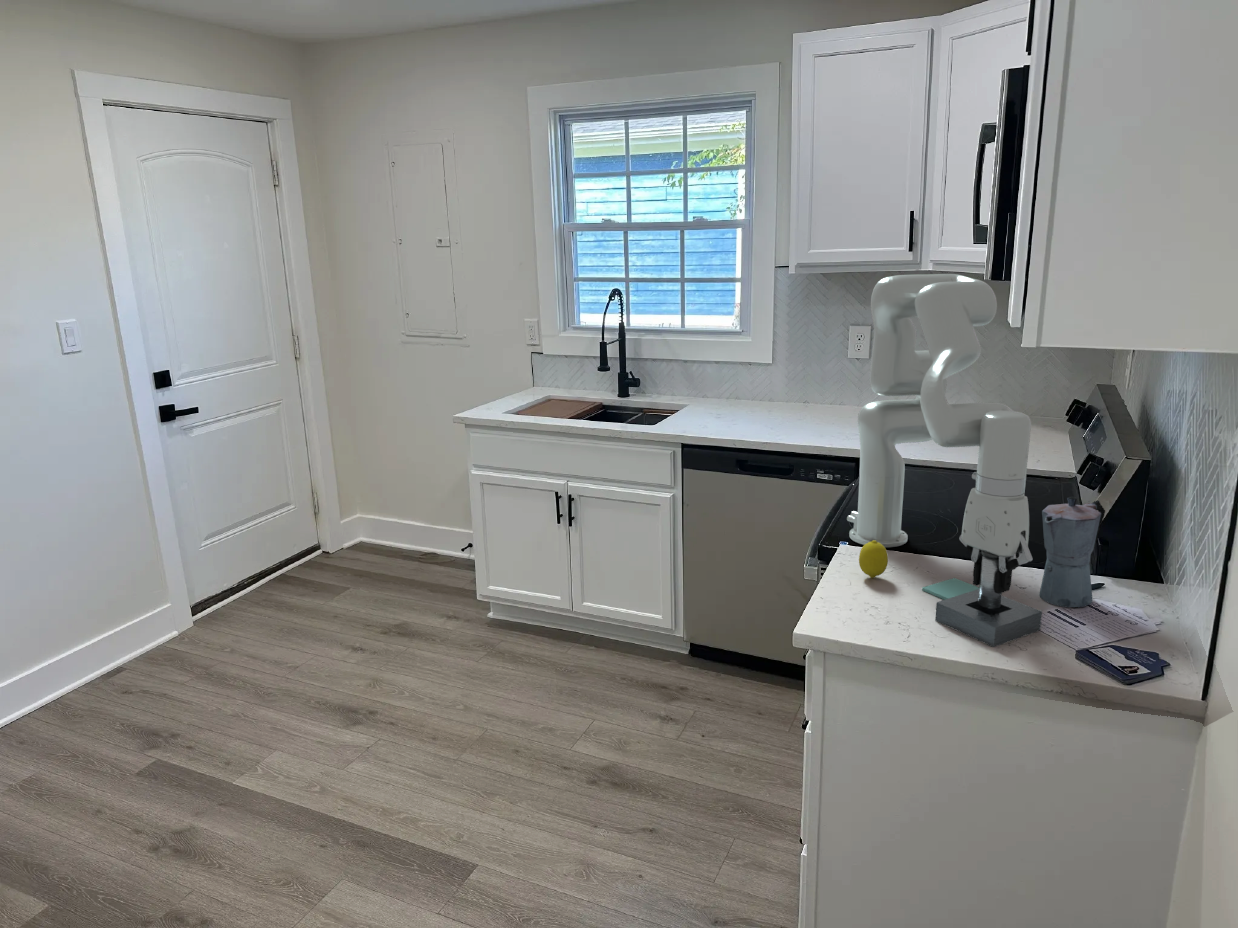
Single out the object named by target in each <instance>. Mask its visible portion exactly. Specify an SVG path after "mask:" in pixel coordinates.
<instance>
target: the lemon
mask: <svg viewBox="0 0 1238 928" xmlns="http://www.w3.org/2000/svg"><path fill="white" fill-rule="evenodd" d="M858 563H859V567H860V569H861V571H862V572H863V573H864V574H865V575H867V576H868V577H870V579H874V578H876V577H878V576H880V575H883V573H884V572H886V569H887V567H888V564H889V555H888V550H887V549H886V547H884V546H883V545H882V544H881V543H879V542H877V541H876V540H873V541H872V542H868V543H866V544H865V545H862V547H861V550H860V552H859V555H858Z"/></svg>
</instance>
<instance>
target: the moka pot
mask: <svg viewBox="0 0 1238 928" xmlns="http://www.w3.org/2000/svg"><path fill="white" fill-rule="evenodd" d="M1066 499H1067V503H1061V504H1058V503H1057V504H1048V505H1047V506H1046V507H1045V508H1044V509H1043V510H1041V515H1042V529H1043V539H1044V540H1043V543H1044V549H1045V550H1046V561H1045V564H1044V570H1043V576H1042V580H1041V585H1040V589H1039V597H1040V598H1041V599H1042V601H1044V602H1046V603H1048V604H1051V605H1054V606H1057V607H1062V608H1069V607H1078V608H1084V607H1086V606H1088V605H1091V604H1092V603H1093V592H1092V578H1091V567H1090V566H1091V565H1090V562H1091V554H1092V553H1093V552H1094V549H1095V548H1096V544H1097V540H1098V538H1099V537H1098V536H1099V533H1100V530H1101V527H1102V523H1103V520H1104V517H1105V513H1106V510H1105V508H1104V507H1103V505H1102V504H1101V502H1100V500H1095V501H1093V502H1092V503H1091V502H1089V503H1088V502H1087V503H1084V504H1083V505H1082V504H1077V500H1078V498H1077V497H1076V496H1069V497H1066Z"/></svg>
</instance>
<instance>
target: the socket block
mask: <svg viewBox="0 0 1238 928" xmlns="http://www.w3.org/2000/svg"><path fill="white" fill-rule="evenodd" d="M978 597H979V589H977V590H974V591H971V592H968V593H965V594H961V595H958V596H955V597H952V598H949V599H945V600H944V599H942V600H939V601H936V605H935V606H936V607H935V618H934V619H935V622H938V623H940V624H942V625H943V626H946V627H949V628H951V629H953V630H954V631H957V632H959V633H961V634H964V635H966V636H968V637H970V638H973V639H974V640H977V641H979V642H981V643H984V644H986V645H988V646H990V647H993V648H995V647H998V646H1001V645H1003V644H1006V643H1009V642H1011V641H1015V640H1017V639H1020V638H1023V637H1025V636H1028V635H1031V634H1033V633H1037V632H1039V631H1040V630H1041V624H1042V616H1043V611H1042V610H1040V609H1037V608H1035V607H1033V606H1030V605H1028V604H1027V605H1026V604H1024V603H1022V602H1019V601H1017V600H1015V599H1012V598H1009V597H1006V596H1004V595H1002V596H1001V606H1000V607H999V608H994V609H992V608H985V607H982V606H980V605H979V604H978Z"/></svg>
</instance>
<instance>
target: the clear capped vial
mask: <svg viewBox="0 0 1238 928" xmlns="http://www.w3.org/2000/svg"><path fill="white" fill-rule="evenodd" d="M981 555H982V563H981V574H980V585H978V586H979V597H978V604H979V605H980V606H982V607H985V608H992V609H994V608H999V607H1000V606H1001V596H1003V593H1000V594H997V593H995V592H994V587H995V576H996V571H999V570H1000V569H999V556H998V555H995V554H992V553H989V552H986V551H983V550H981Z"/></svg>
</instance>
